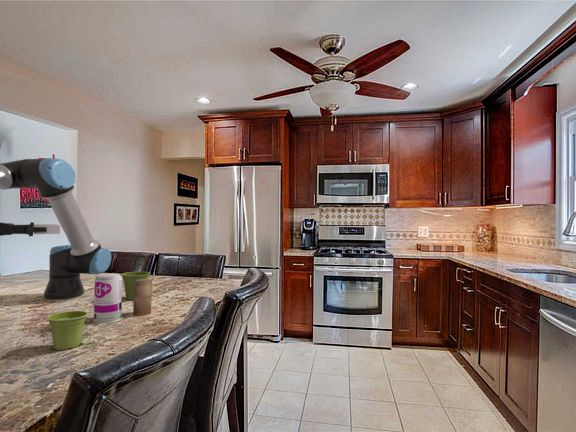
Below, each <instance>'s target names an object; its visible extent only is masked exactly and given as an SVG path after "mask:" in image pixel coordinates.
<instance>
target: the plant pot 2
mask: <svg viewBox="0 0 576 432" xmlns="http://www.w3.org/2000/svg"><path fill="white" fill-rule="evenodd" d="M150 275H151V272H149V271H148V272H147V271H129V272H123V273H121V274H120V276H121V277H122V282H123V285H124V291H125V292H124V294H125V299H126V300H127V301H133V299H134V280H138V279H149V276H150Z"/></svg>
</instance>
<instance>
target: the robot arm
mask: <svg viewBox="0 0 576 432" xmlns="http://www.w3.org/2000/svg"><path fill="white" fill-rule="evenodd" d="M75 172H76V171H75V170H74V168H73V166H72V165H71V164H70V163H69V162H68V161H65V160H64V159H62V158H61V159H60V158H55V157H46V158H25V159H24V158H23V159H18V160H14V161H7V162H2V163H1V162H0V190H3V191H4V190H11V189H25V190H26V189H27V190H29V189H31V190H37V192H38V194H39V195H40V197H41V198H42V199H46V200H47V201H48V203H49V205H50V206H51V209H52V211H53V213H54V215H55V216H56V219H57V221H58V223H59V224H56V223H54V224H52V223H51V224H48V223H47V224H46V223H45V224H44V223H43V224H41V223H39V224H38V223H37V224H35V222H30V223H29V224H14V223H11V222H9V223H6V222H0V237H1V236H3V237H4V236H11V235H28V237H34V235H60V234H61V229H62V230H63V232H64V234H65V236H66V238H67V240H68V242H69V244H67V245H64V244H63V245H57V246H53V247H51V248H50V251H49V265H48V267H49V269H48V270H49V271H48V272H49V276H48V277H49V278H48V281H47V284H46V288H45V289H44V291H43V298H44V299H46V300H47V299H48V300H63V299H71V298H75V297H80V296H83V295H84V294H85V289H84V285H83V282H82V280H81V274H82V275H83V274H84V275H85V274H87V275H99V274H104V273H105V272H106V271H107V270H108V269H109V267H110V265H111V262H112V253H111V251H110V249H108V248H105V247H102V245H101V244H100V241H99V240H97V239H95V238H94V237H93V235H92V233H91V231H90V228H89V227H88V224H87V223H86V220H85V218H84V215H83V214H82V212H81V209H80V207H79V204H78V203H77V200H76V199H75V198H76V197H74V194H73V191H74V189H75V185H74V184H75V183H76V178H77V177H76V175H77V174H76V173H75Z"/></svg>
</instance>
